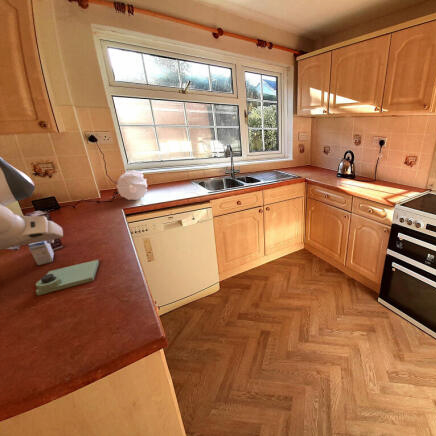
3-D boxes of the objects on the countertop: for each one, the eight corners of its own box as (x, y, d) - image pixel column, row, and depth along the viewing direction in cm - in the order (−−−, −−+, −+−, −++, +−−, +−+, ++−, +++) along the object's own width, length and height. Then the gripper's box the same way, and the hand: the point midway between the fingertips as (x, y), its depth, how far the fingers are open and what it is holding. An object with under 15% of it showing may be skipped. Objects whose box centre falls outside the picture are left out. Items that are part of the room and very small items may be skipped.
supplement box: (64, 246, 105) (49, 212, 99) (50, 252, 101) (34, 216, 95) (54, 243, 108) (39, 210, 102) (40, 248, 104) (23, 213, 98)
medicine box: (39, 257, 97) (30, 238, 93) (54, 253, 99) (46, 234, 96) (37, 265, 91) (27, 245, 88) (53, 261, 94) (44, 241, 90)
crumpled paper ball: (130, 207, 164) (131, 196, 184) (153, 193, 168) (152, 184, 188) (108, 186, 154) (111, 177, 173) (134, 171, 158) (134, 163, 177)
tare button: (41, 285, 75) (39, 280, 75) (44, 280, 78) (42, 275, 77) (54, 282, 77) (51, 277, 76) (56, 277, 79) (54, 272, 78)
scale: (36, 296, 74) (32, 288, 73) (50, 274, 85) (46, 267, 84) (93, 281, 81) (90, 273, 80) (99, 262, 92) (96, 255, 91)
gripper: (-39, 247, 72) (-6, 261, 83) (52, 231, 81) (70, 245, 93) (-38, 228, 74) (-6, 244, 85) (50, 214, 83) (68, 230, 95)
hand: (34, 244), depth 89 cm, fingers open, 8 cm apart
